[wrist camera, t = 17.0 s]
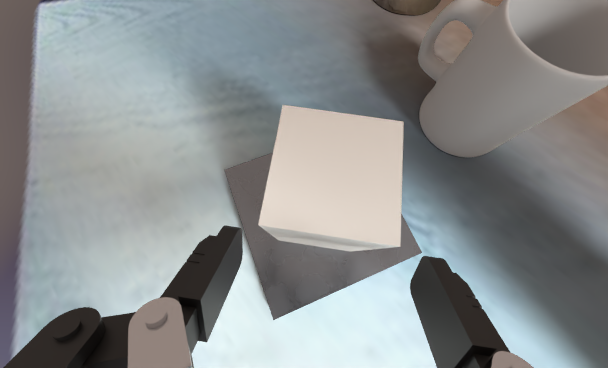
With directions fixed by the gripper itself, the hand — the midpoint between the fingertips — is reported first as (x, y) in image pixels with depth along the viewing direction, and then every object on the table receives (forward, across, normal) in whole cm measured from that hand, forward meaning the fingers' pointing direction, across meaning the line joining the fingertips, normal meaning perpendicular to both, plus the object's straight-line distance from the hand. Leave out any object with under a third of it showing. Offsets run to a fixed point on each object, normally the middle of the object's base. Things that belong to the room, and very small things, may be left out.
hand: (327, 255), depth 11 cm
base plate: (+10, 0, +5) cm, 11 cm away
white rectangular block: (+9, 0, +4) cm, 10 cm away
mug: (+20, -12, -4) cm, 23 cm away
